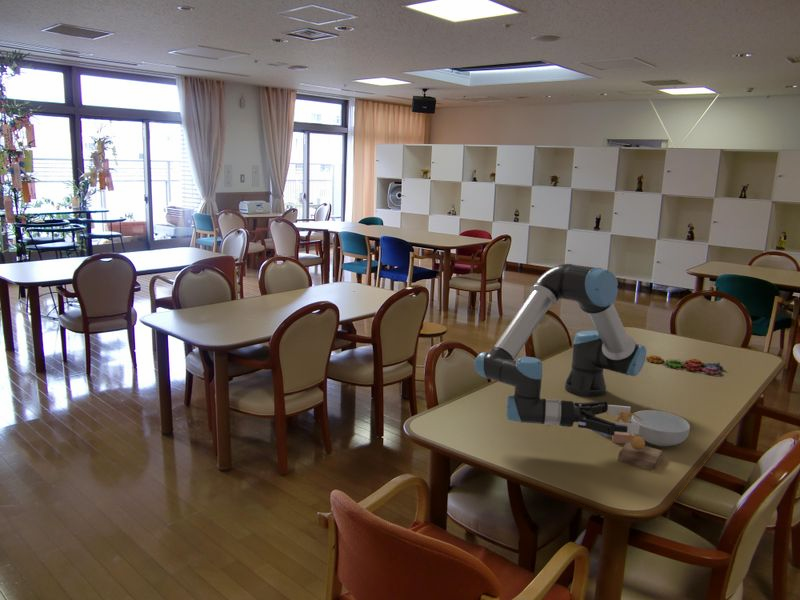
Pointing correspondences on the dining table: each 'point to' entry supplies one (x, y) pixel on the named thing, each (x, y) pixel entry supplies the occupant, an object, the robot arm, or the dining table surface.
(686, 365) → the gear puzzle
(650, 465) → the walnut plinth
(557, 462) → the dining table surface
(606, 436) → the slate-blue brick
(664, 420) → the cereal bowl
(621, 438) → the terracotta brick
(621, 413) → the figurine
